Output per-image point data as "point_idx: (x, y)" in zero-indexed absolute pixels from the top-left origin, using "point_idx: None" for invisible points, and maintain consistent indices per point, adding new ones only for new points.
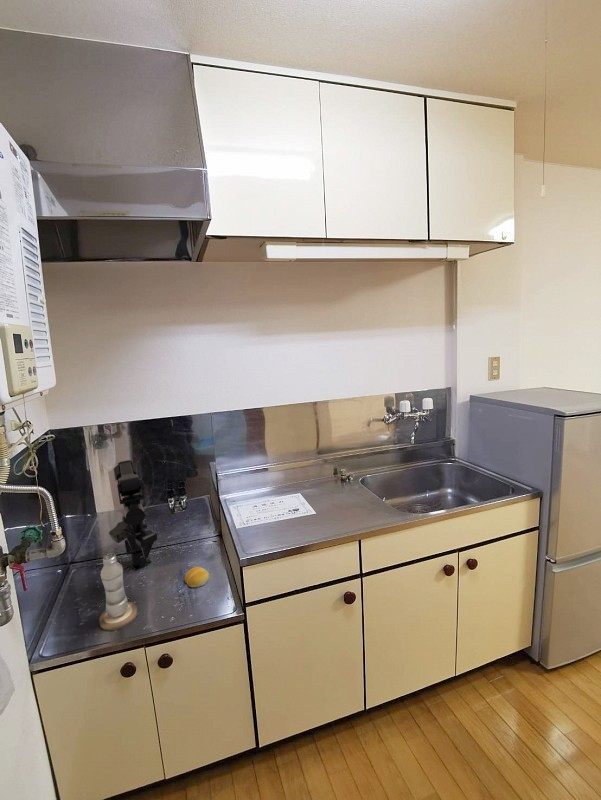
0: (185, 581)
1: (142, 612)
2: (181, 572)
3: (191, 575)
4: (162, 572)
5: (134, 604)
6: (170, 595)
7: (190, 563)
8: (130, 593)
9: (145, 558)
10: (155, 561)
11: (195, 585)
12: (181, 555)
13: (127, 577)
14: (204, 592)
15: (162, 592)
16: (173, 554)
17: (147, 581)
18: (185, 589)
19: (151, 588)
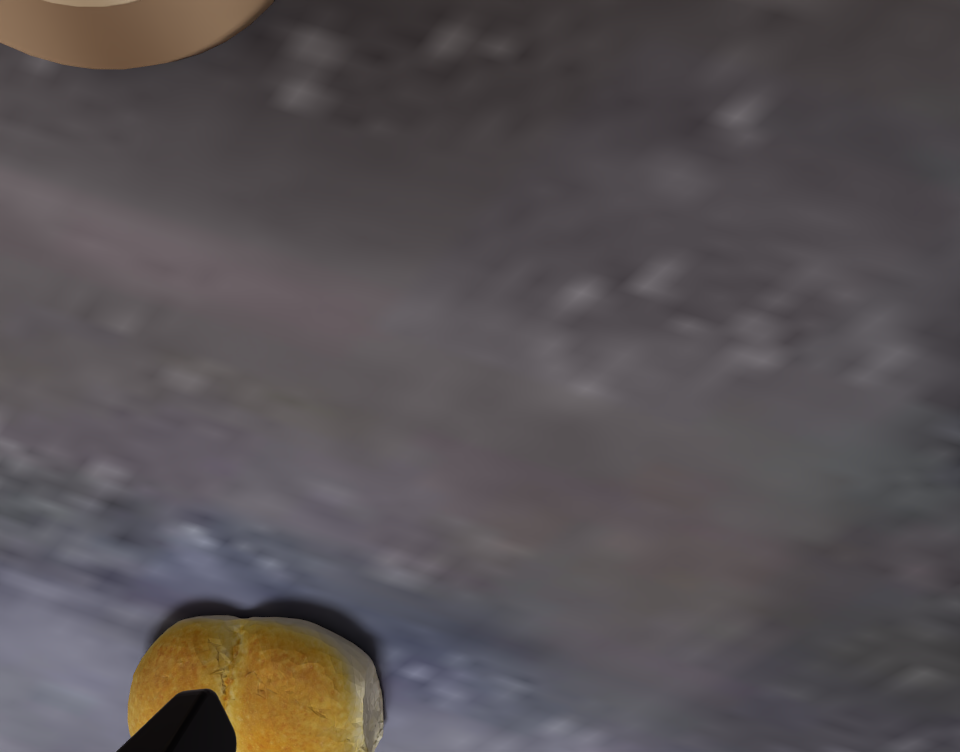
0: (270, 626)
1: (31, 109)
2: (495, 645)
3: (230, 716)
4: (656, 526)
5: (158, 61)
6: (176, 446)
7: (577, 742)
8: (535, 99)
9: (182, 700)
10: (951, 545)
11: (141, 660)
12: (790, 742)
13: (954, 176)
14: (48, 659)
15: (282, 405)
16: (888, 705)
17: (623, 351)
18: (189, 574)
19: (443, 341)
